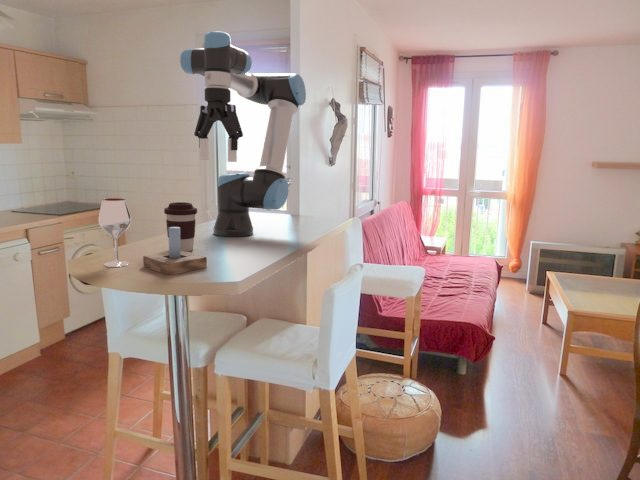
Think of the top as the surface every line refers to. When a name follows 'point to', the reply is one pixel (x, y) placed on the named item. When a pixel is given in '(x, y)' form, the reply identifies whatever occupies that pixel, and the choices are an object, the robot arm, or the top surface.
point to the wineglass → (114, 223)
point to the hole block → (174, 262)
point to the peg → (174, 243)
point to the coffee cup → (182, 222)
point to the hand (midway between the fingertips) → (217, 160)
